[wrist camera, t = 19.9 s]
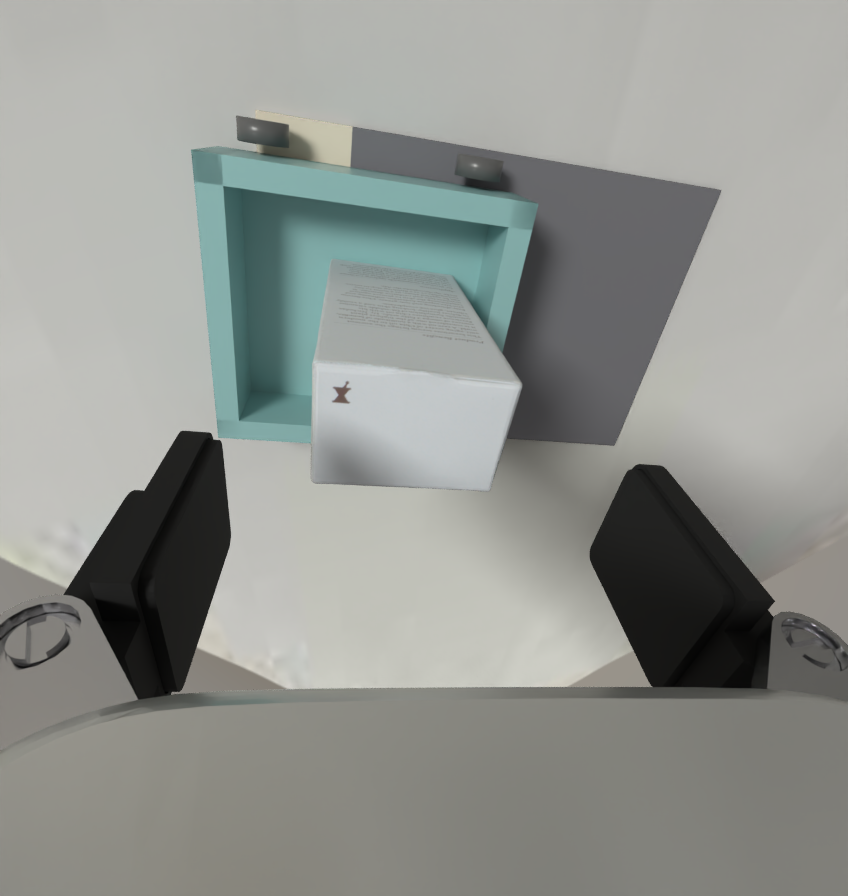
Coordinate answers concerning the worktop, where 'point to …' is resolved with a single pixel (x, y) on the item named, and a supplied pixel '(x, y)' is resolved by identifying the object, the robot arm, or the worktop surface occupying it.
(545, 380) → the mat
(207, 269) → the teal open tray
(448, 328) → the skincare box
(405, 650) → the worktop surface
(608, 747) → the robot arm
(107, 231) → the worktop surface
